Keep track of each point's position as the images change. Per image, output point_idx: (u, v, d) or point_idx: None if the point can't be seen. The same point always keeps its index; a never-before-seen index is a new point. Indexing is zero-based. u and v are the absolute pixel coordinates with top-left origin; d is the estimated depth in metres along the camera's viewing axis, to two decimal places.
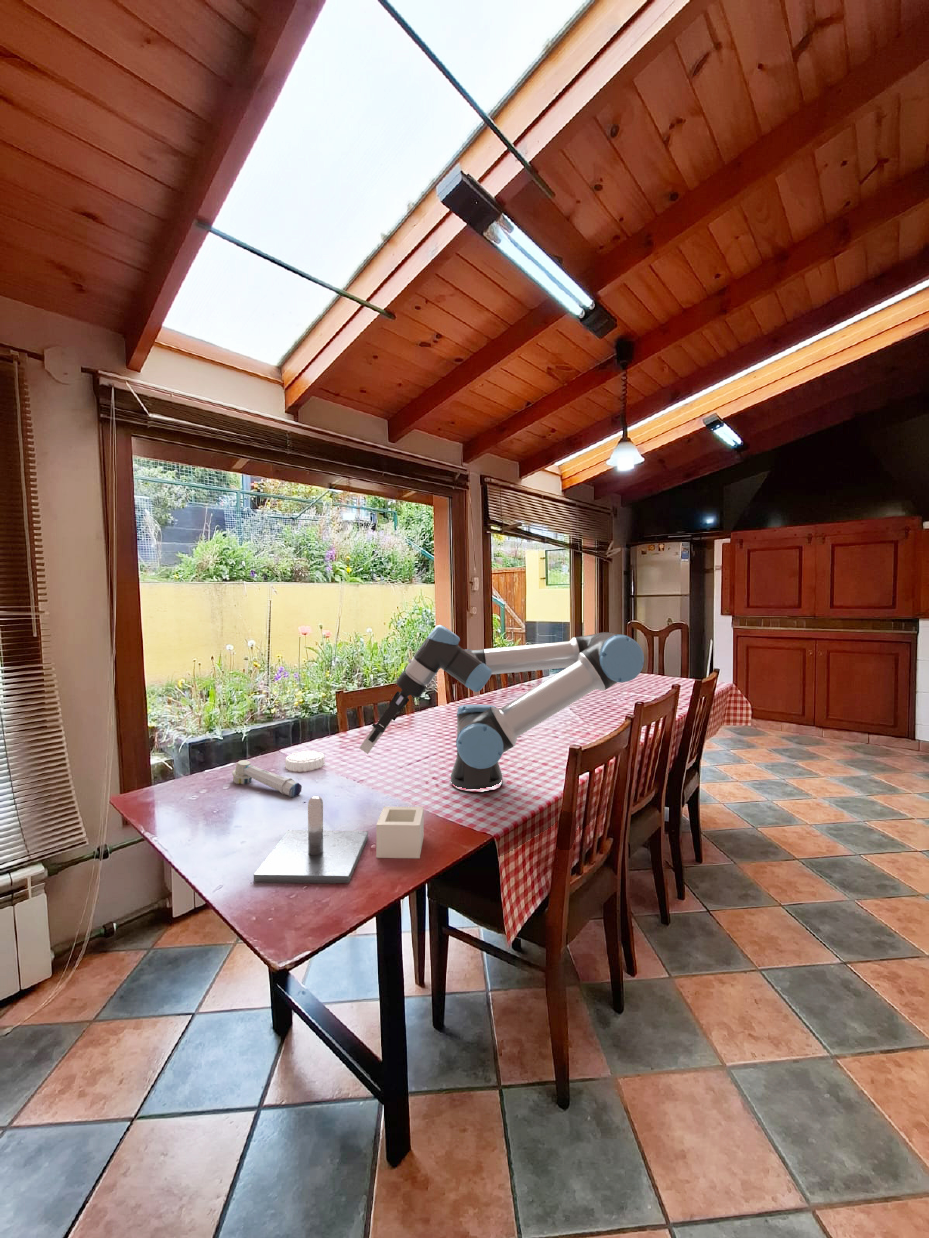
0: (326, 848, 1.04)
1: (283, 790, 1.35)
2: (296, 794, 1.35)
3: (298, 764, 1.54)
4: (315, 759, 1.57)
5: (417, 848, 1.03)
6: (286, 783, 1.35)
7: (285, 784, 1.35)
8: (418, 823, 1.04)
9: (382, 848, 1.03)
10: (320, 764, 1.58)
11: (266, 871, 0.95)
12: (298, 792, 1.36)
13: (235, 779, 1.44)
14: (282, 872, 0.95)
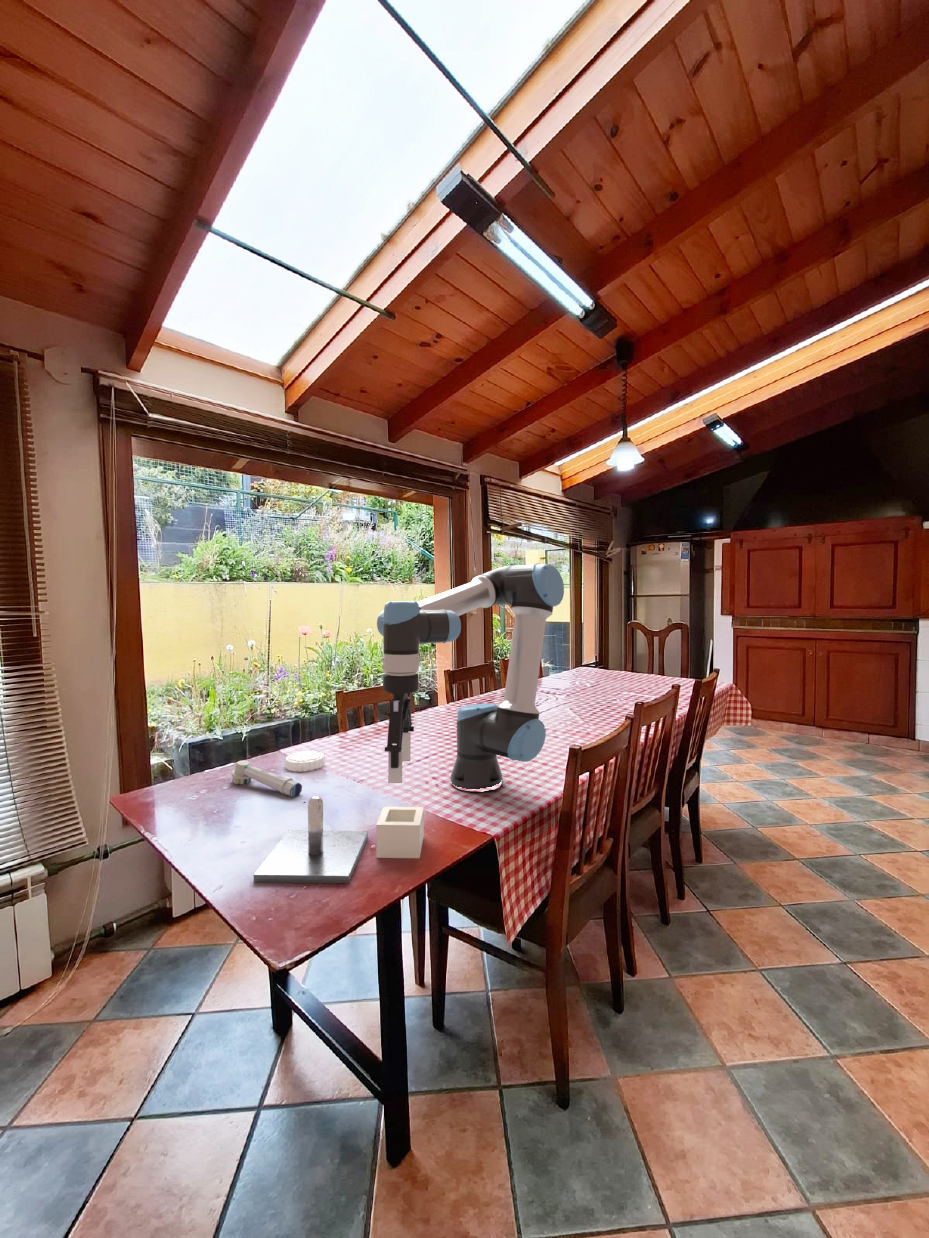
0: (326, 848, 1.04)
1: (283, 790, 1.35)
2: (297, 794, 1.36)
3: (298, 764, 1.54)
4: (315, 759, 1.57)
5: (417, 848, 1.03)
6: (287, 783, 1.35)
7: (285, 784, 1.35)
8: (418, 823, 1.04)
9: (382, 848, 1.03)
10: (320, 764, 1.58)
11: (266, 871, 0.95)
12: (299, 792, 1.36)
13: (234, 779, 1.44)
14: (282, 872, 0.95)
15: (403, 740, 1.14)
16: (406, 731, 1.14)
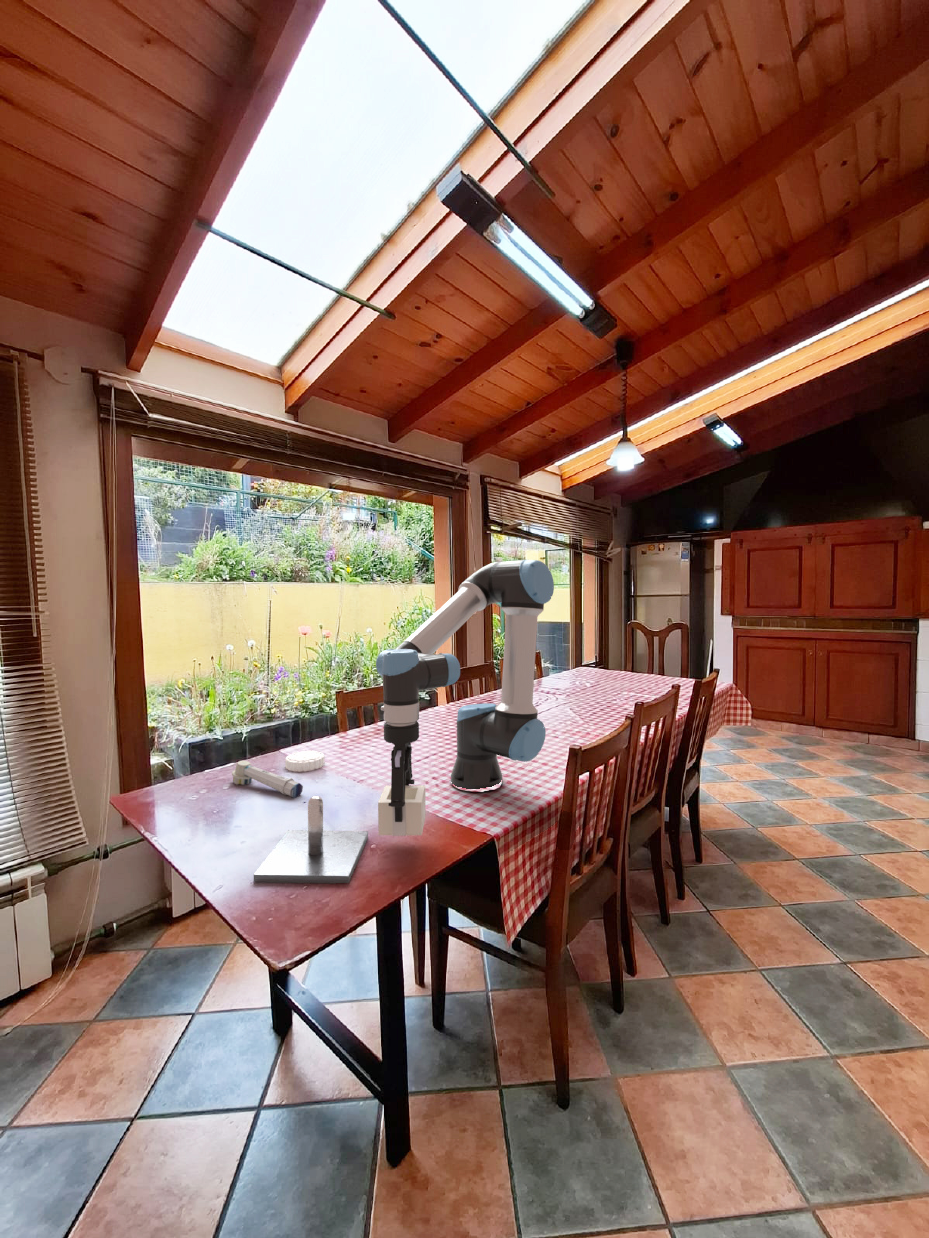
0: (326, 848, 1.04)
1: (284, 790, 1.35)
2: (297, 794, 1.35)
3: (298, 764, 1.54)
4: (315, 759, 1.57)
5: (419, 825, 1.03)
6: (287, 783, 1.35)
7: (286, 784, 1.35)
8: (420, 800, 1.04)
9: (384, 826, 1.04)
10: (320, 764, 1.58)
11: (266, 871, 0.95)
12: (300, 792, 1.36)
13: (235, 780, 1.43)
14: (282, 872, 0.95)
15: None
16: (407, 783, 1.13)
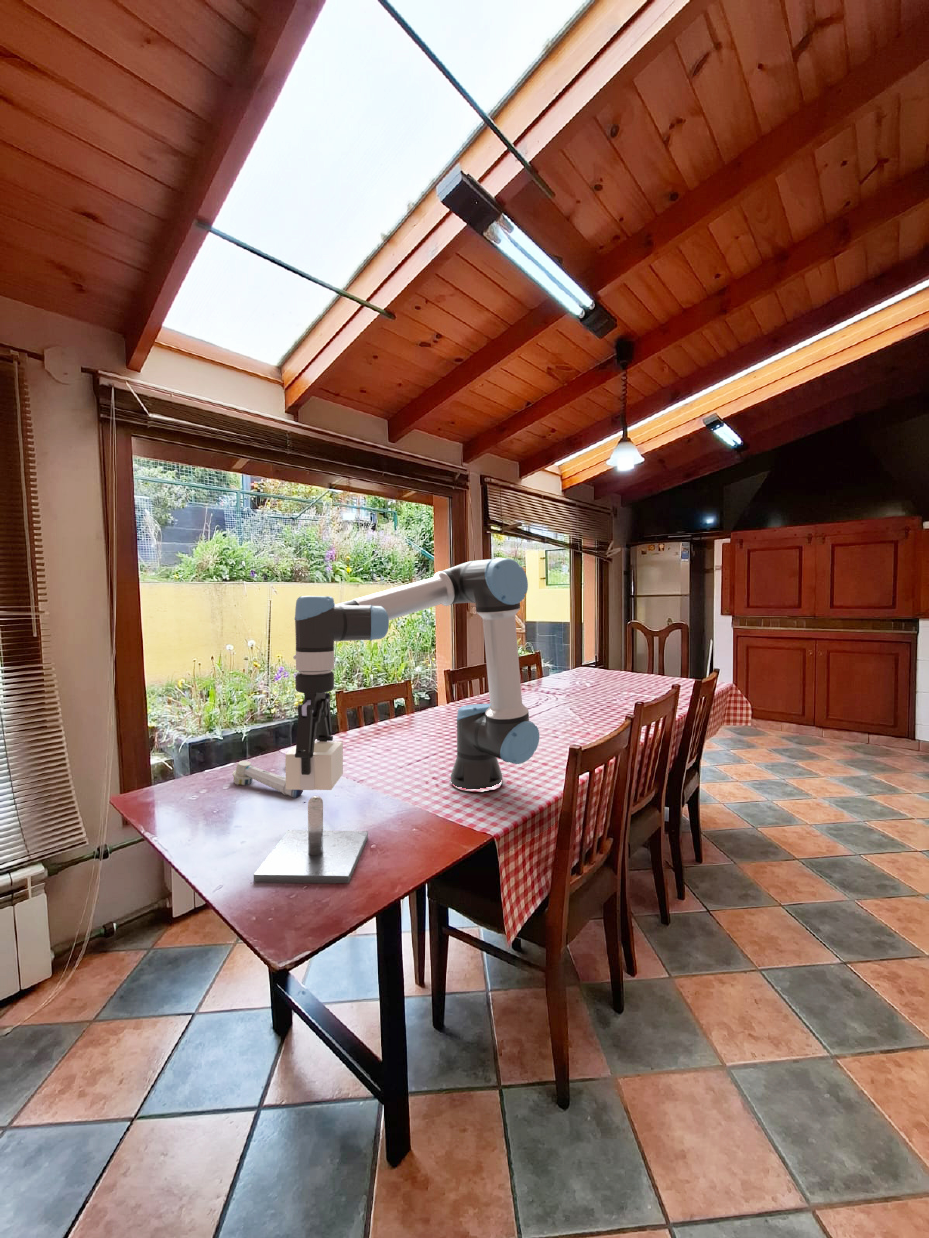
0: (326, 848, 1.04)
1: (285, 791, 1.35)
2: (298, 795, 1.35)
3: None
4: None
5: (328, 779, 0.98)
6: None
7: None
8: (330, 753, 0.98)
9: (292, 780, 0.98)
10: None
11: (266, 871, 0.95)
12: (300, 793, 1.36)
13: (235, 780, 1.43)
14: (282, 872, 0.95)
15: None
16: (324, 740, 1.07)
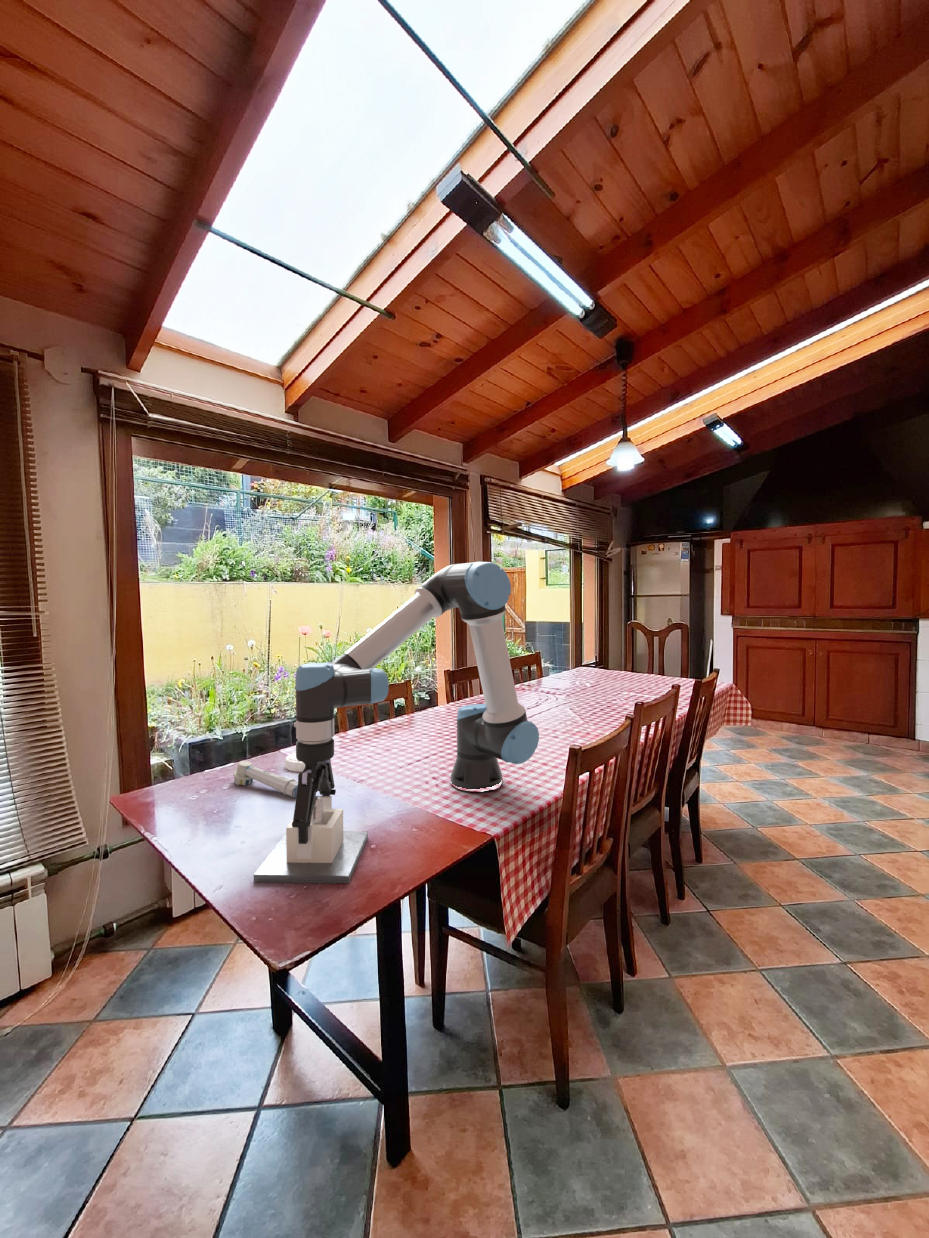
0: None
1: (286, 791, 1.34)
2: None
3: (298, 764, 1.54)
4: None
5: (329, 852, 0.98)
6: (289, 784, 1.35)
7: (288, 785, 1.35)
8: (331, 826, 0.99)
9: (293, 853, 0.99)
10: None
11: (266, 871, 0.95)
12: None
13: (236, 780, 1.43)
14: (282, 872, 0.95)
15: (323, 804, 1.09)
16: (327, 795, 1.10)
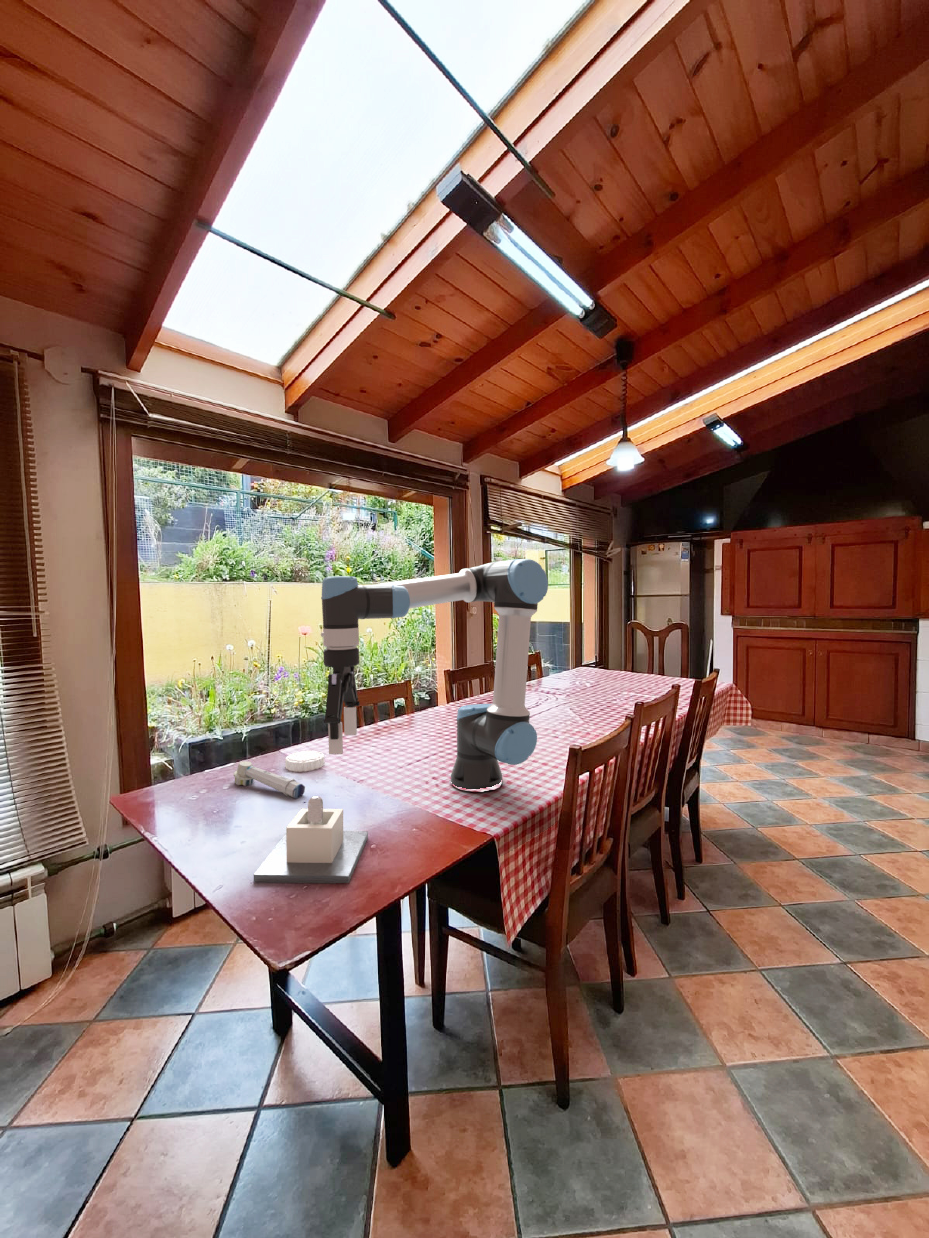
0: None
1: (286, 791, 1.34)
2: (299, 795, 1.35)
3: (298, 764, 1.54)
4: (315, 759, 1.57)
5: (329, 852, 0.98)
6: (289, 784, 1.35)
7: (288, 785, 1.34)
8: (331, 826, 0.99)
9: (293, 853, 0.99)
10: (320, 764, 1.58)
11: (266, 871, 0.95)
12: (302, 793, 1.35)
13: (237, 780, 1.43)
14: (282, 872, 0.95)
15: (348, 714, 1.15)
16: (351, 705, 1.16)
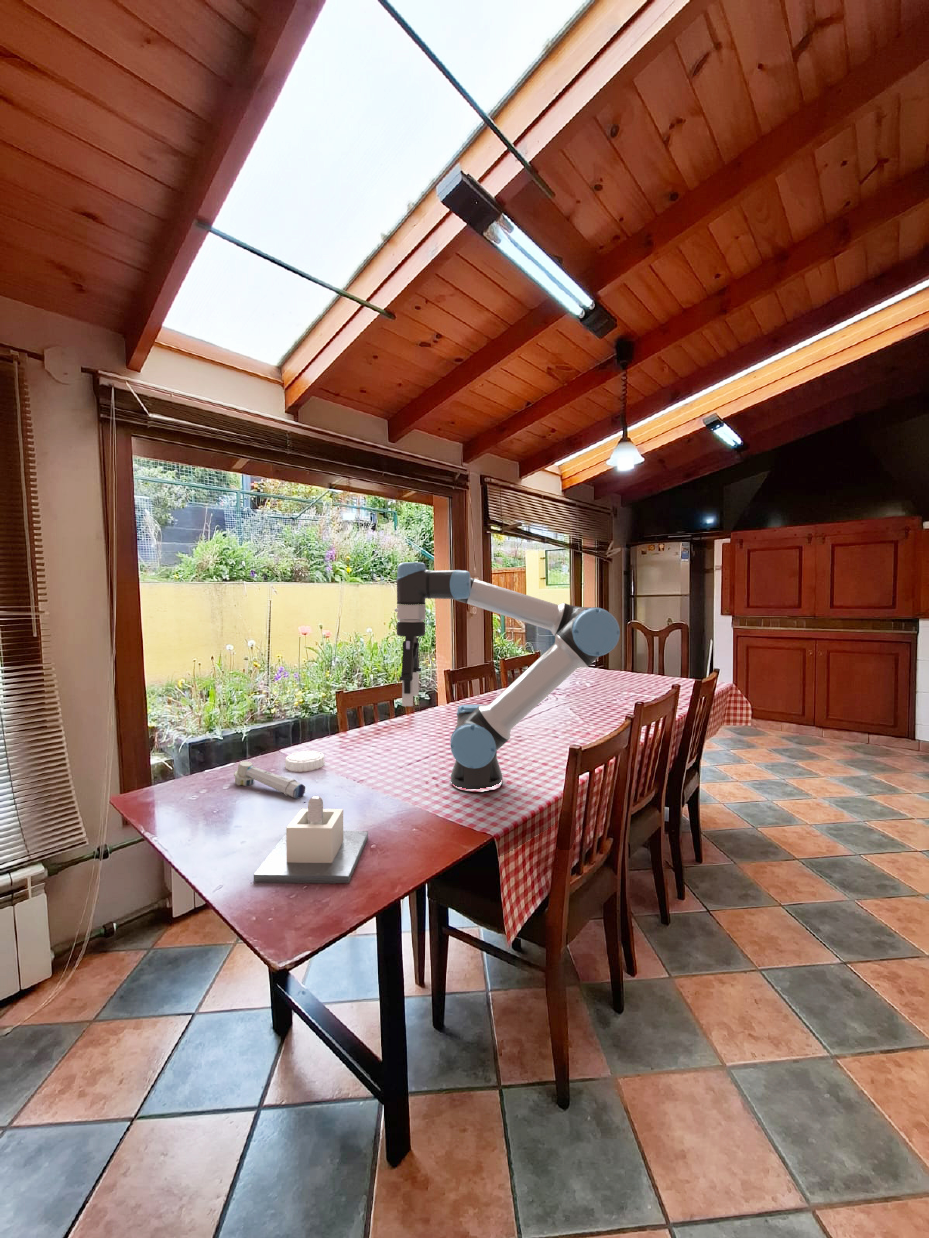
0: None
1: (287, 791, 1.34)
2: (300, 795, 1.35)
3: (298, 764, 1.54)
4: (315, 759, 1.57)
5: (329, 852, 0.98)
6: (290, 784, 1.34)
7: (289, 785, 1.34)
8: (331, 826, 0.99)
9: (293, 853, 0.99)
10: (320, 764, 1.58)
11: (266, 871, 0.95)
12: (302, 793, 1.35)
13: (237, 780, 1.43)
14: (282, 872, 0.95)
15: (412, 678, 1.39)
16: (415, 671, 1.40)
